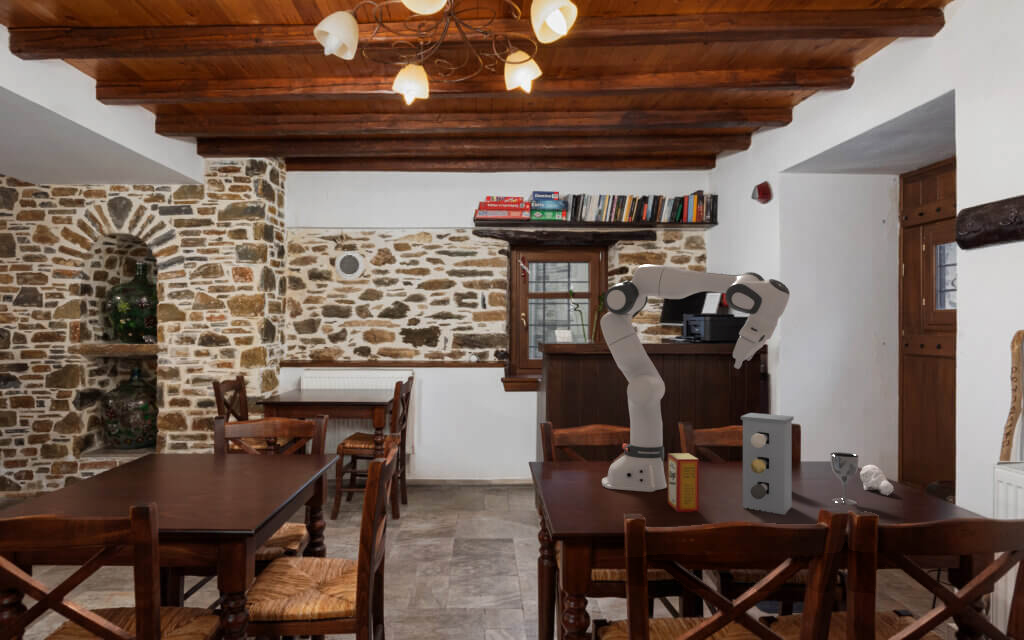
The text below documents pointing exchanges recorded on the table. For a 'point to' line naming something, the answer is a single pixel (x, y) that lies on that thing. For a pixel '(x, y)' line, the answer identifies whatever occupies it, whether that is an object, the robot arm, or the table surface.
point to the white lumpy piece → (875, 479)
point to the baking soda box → (683, 482)
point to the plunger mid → (759, 465)
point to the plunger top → (759, 440)
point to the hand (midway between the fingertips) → (742, 363)
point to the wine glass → (844, 472)
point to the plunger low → (759, 490)
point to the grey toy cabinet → (779, 462)
